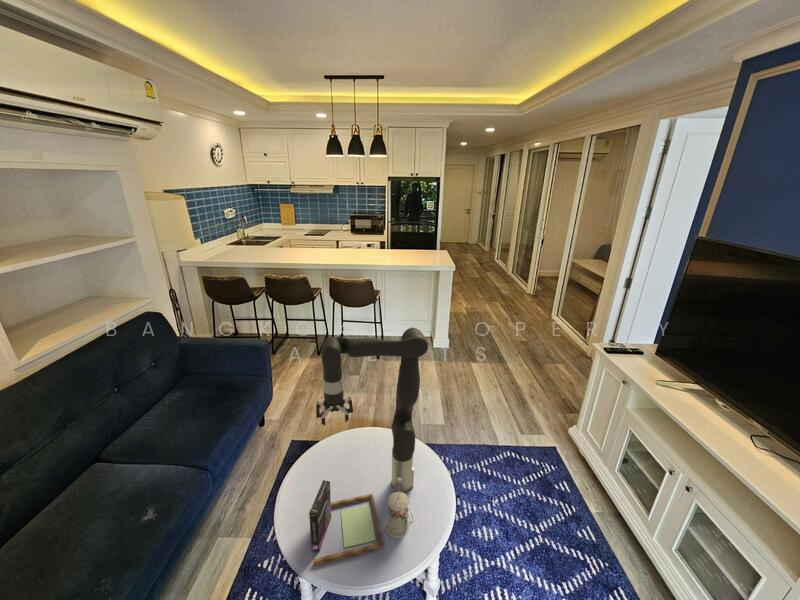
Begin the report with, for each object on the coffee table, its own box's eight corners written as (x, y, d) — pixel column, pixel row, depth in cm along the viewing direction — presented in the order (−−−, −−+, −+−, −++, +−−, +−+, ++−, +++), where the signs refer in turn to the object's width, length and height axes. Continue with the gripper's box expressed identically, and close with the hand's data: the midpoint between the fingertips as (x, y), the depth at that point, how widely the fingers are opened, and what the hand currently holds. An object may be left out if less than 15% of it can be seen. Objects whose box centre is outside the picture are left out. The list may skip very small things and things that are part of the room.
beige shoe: (396, 510, 136) (397, 463, 128) (418, 528, 130) (421, 479, 122) (380, 528, 129) (380, 479, 121) (403, 547, 122) (405, 497, 114)
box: (320, 552, 120) (317, 513, 114) (311, 551, 120) (307, 512, 114) (332, 517, 133) (330, 480, 127) (324, 515, 134) (321, 479, 127)
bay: (372, 497, 142) (372, 493, 141) (382, 548, 122) (382, 544, 121) (313, 509, 136) (313, 506, 135) (314, 565, 116) (313, 562, 115)
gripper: (350, 380, 131) (352, 414, 136) (314, 385, 127) (316, 419, 133) (353, 391, 124) (354, 426, 129) (314, 396, 120) (317, 432, 126)
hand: (335, 422), depth 131 cm, fingers open, 8 cm apart
